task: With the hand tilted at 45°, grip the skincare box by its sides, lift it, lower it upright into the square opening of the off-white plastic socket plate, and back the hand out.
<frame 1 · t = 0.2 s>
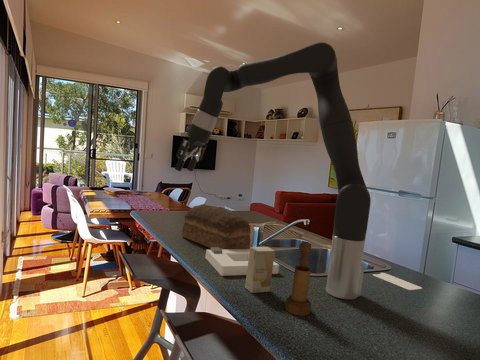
hand: (183, 170, 123), 31 cm above the countertop, tool tilted 20°, fingers open, 8 cm apart
bread: (214, 244, 150), on the countertop
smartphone: (396, 282, 126), on the countertop
skincare box: (257, 290, 105), on the countertop
mortar and pestle: (297, 310, 94), on the countertop
socket plate: (240, 265, 125), on the countertop
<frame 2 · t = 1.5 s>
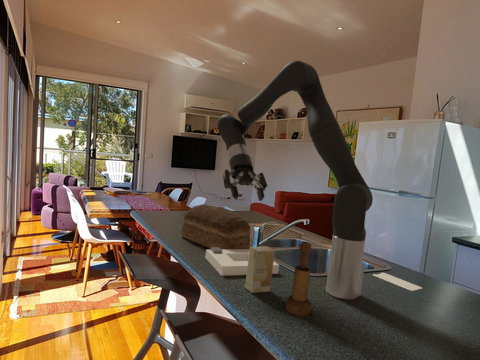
hand: (249, 198, 114), 25 cm above the countertop, tool tilted 45°, fingers open, 8 cm apart
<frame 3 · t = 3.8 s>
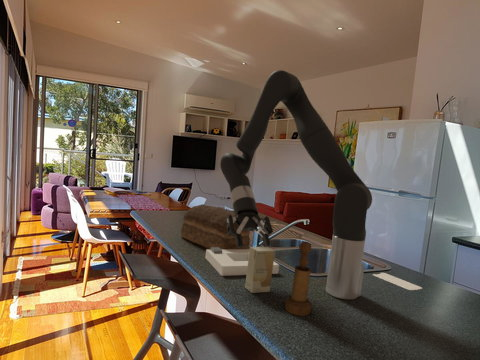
hand: (254, 247, 109), 11 cm above the countertop, tool tilted 45°, fingers open, 8 cm apart
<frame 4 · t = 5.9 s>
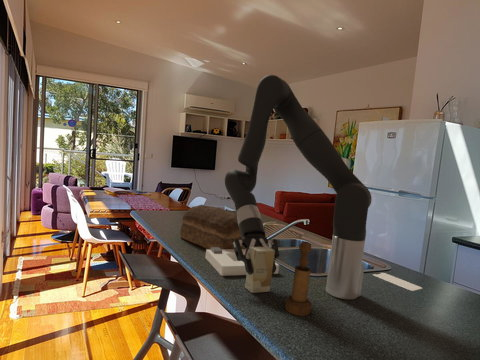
hand: (262, 272, 103), 6 cm above the countertop, tool tilted 45°, fingers closed on skincare box, 6 cm apart
skincare box: (257, 290, 105), on the countertop, touching gripper
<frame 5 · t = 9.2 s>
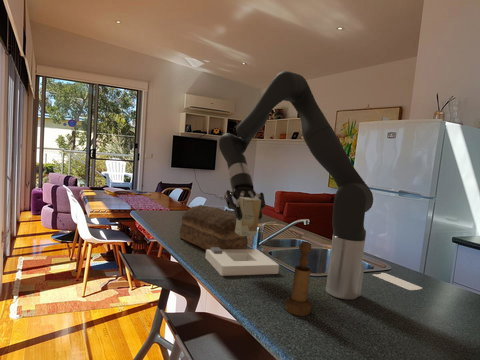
hand: (249, 219, 118), 18 cm above the countertop, tool tilted 45°, fingers closed on skincare box, 6 cm apart
bread: (211, 246, 147), on the countertop
skincare box: (245, 235, 120), point 12 cm above the countertop, touching gripper
everything else where it was.
when the fingers open (7 cm above the countertop, at t = 12.4 s): skincare box drops 1 cm, resting in socket plate.
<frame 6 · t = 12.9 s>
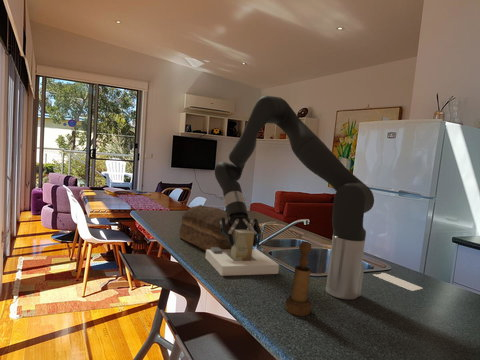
hand: (244, 245, 123), 7 cm above the countertop, tool tilted 45°, fingers open, 8 cm apart
skincare box: (240, 265, 125), resting in socket plate
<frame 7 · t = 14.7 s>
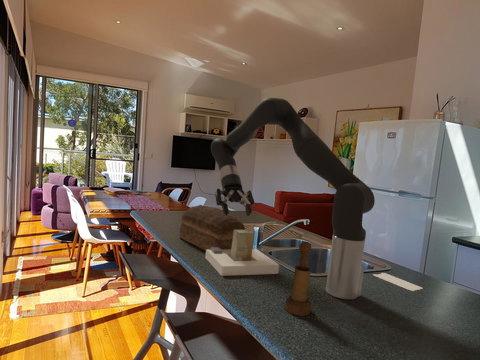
hand: (238, 214, 130), 17 cm above the countertop, tool tilted 45°, fingers open, 8 cm apart
nothing on the countertop moved.
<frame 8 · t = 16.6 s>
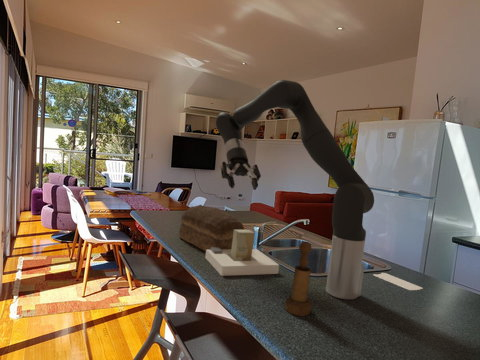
hand: (244, 187, 126), 27 cm above the countertop, tool tilted 45°, fingers open, 8 cm apart
nothing on the countertop moved.
at the end: skincare box 0.2 cm off-centre on the socket plate, point 0.0 cm above the socket plate's base; skincare box tilted 0°; the gripper is holding nothing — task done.
